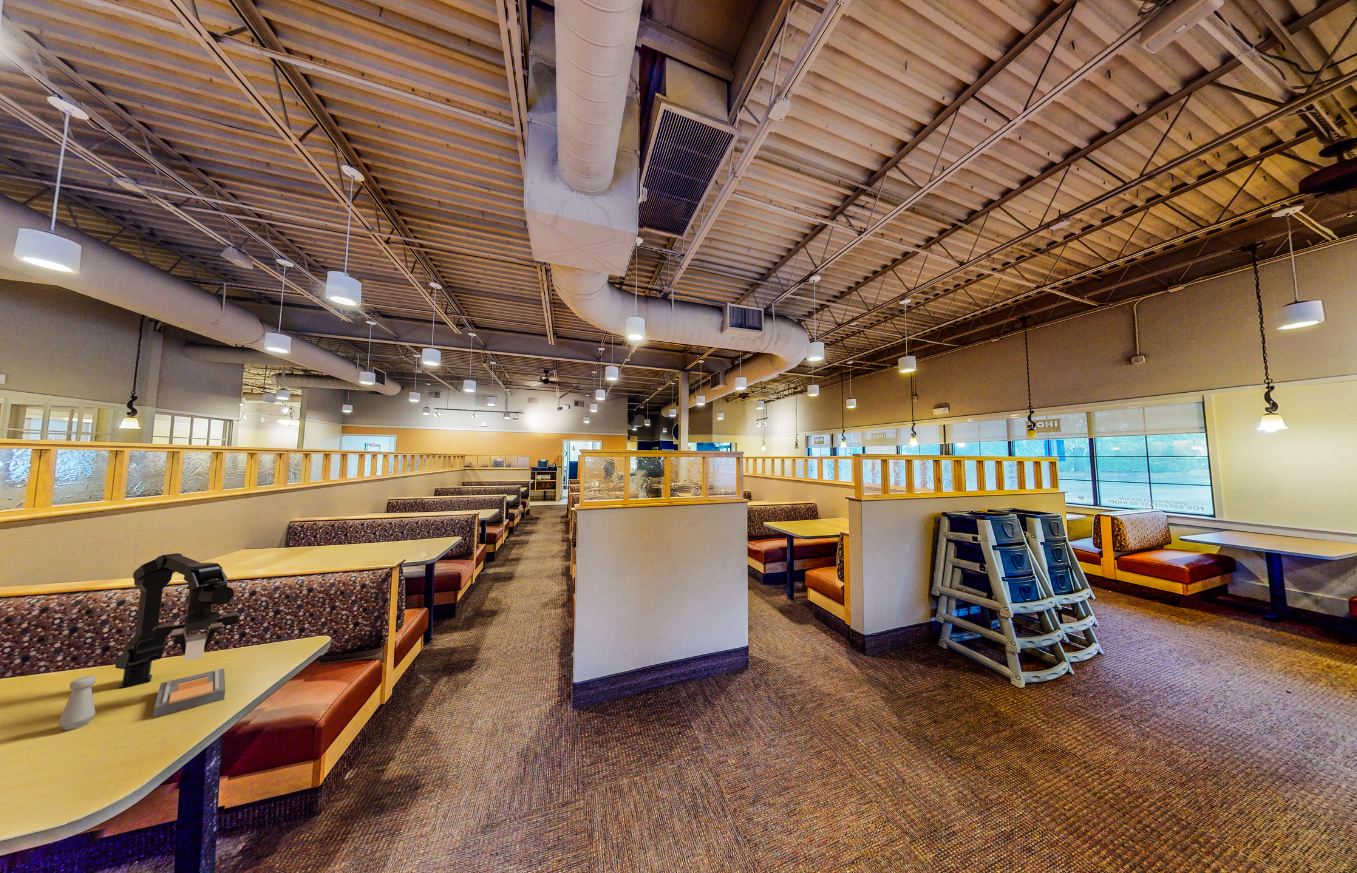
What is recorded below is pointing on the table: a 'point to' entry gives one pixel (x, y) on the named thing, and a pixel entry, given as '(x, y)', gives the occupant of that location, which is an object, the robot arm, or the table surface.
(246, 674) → the table surface
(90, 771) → the table surface
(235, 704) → the table surface
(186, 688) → the shutter
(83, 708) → the salt shaker
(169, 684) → the socket block
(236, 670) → the table surface
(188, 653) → the plug
